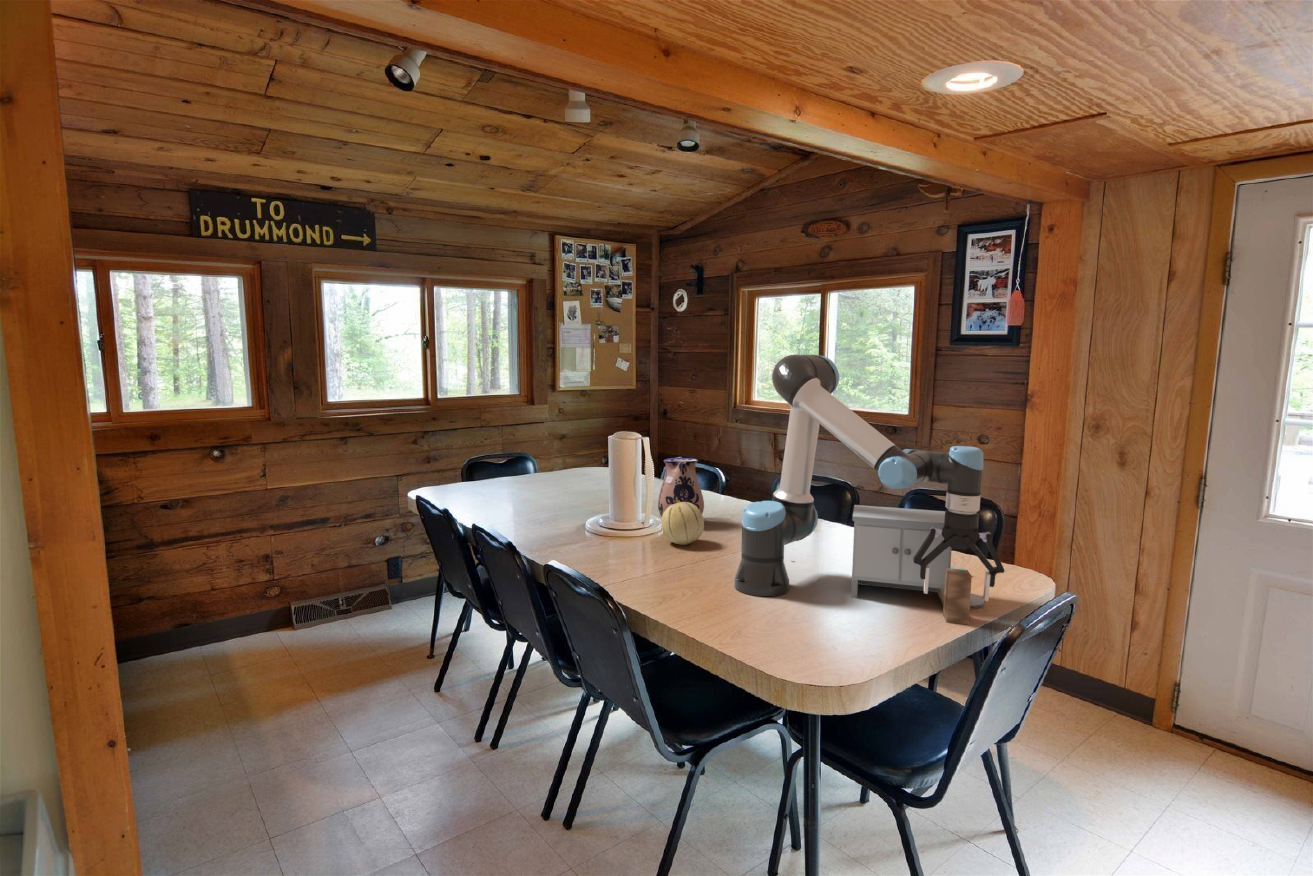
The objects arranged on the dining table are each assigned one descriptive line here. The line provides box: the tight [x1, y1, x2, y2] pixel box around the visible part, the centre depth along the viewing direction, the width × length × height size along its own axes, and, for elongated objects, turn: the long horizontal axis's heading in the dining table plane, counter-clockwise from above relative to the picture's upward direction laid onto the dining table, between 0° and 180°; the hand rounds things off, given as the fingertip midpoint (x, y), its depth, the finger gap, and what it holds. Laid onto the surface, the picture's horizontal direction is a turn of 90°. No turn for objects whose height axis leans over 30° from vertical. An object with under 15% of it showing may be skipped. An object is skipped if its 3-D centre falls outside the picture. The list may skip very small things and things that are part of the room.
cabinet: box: [850, 504, 953, 599], centre depth 184 cm, size 25×16×22 cm, turn 72°
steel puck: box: [970, 593, 985, 610], centre depth 179 cm, size 7×7×2 cm
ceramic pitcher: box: [657, 456, 705, 518], centre depth 262 cm, size 18×21×25 cm
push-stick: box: [937, 568, 973, 625], centre depth 175 cm, size 5×20×12 cm, turn 166°
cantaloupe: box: [660, 500, 705, 546], centre depth 234 cm, size 15×15×15 cm
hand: (955, 595), depth 167 cm, fingers open, 13 cm apart
